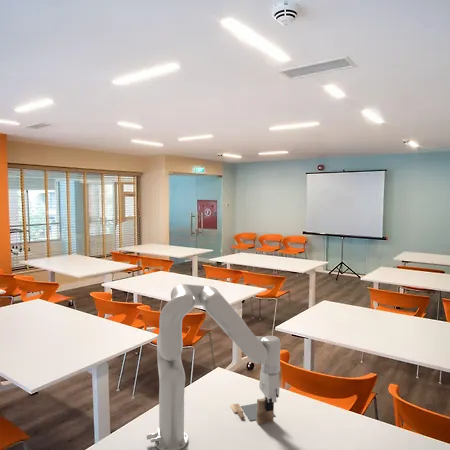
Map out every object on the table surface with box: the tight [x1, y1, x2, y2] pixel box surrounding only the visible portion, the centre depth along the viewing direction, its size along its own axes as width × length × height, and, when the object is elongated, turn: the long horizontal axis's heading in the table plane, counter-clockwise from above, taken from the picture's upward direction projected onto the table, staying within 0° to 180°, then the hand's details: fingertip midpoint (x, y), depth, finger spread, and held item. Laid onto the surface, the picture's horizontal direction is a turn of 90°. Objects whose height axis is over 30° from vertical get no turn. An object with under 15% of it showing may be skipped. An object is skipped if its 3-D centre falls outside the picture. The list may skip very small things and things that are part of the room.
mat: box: [240, 402, 276, 422], centre depth 160 cm, size 12×11×1 cm
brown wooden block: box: [255, 397, 275, 425], centre depth 153 cm, size 7×2×10 cm, turn 108°
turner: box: [229, 403, 246, 421], centre depth 159 cm, size 4×11×1 cm, turn 18°
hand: (269, 409), depth 149 cm, fingers closed
